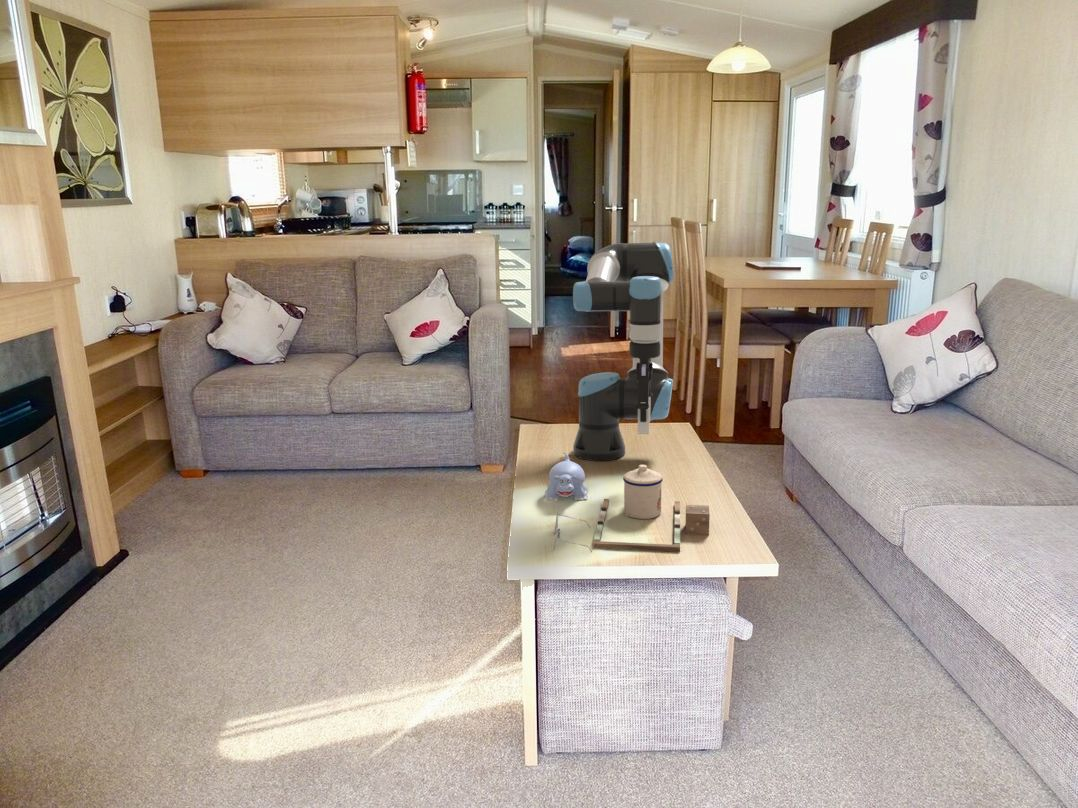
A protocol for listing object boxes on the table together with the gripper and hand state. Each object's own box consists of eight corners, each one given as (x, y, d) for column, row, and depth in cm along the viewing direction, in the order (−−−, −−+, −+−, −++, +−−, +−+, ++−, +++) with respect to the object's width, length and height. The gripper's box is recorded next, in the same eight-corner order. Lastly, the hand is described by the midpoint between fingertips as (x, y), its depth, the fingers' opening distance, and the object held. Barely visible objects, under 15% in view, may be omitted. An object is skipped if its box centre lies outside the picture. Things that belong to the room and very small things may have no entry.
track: (604, 502, 194) (604, 495, 193) (679, 505, 191) (679, 498, 190) (593, 547, 169) (593, 539, 168) (680, 551, 166) (680, 543, 165)
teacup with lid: (667, 518, 183) (667, 470, 180) (628, 521, 182) (628, 473, 179) (652, 499, 195) (652, 454, 192) (616, 502, 194) (616, 457, 191)
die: (685, 525, 179) (685, 504, 178) (708, 526, 178) (708, 505, 177) (685, 534, 174) (686, 513, 173) (708, 535, 174) (709, 513, 172)
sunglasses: (553, 528, 180) (557, 508, 179) (590, 534, 180) (593, 513, 179) (553, 555, 167) (556, 533, 165) (592, 561, 167) (596, 539, 165)
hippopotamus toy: (543, 509, 191) (542, 471, 189) (546, 487, 205) (545, 452, 203) (587, 509, 190) (587, 471, 188) (587, 487, 205) (587, 452, 202)
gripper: (631, 332, 206) (631, 415, 211) (626, 348, 184) (626, 440, 190) (661, 333, 205) (660, 416, 210) (659, 349, 183) (658, 441, 188)
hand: (644, 427), depth 200 cm, fingers open, 10 cm apart
